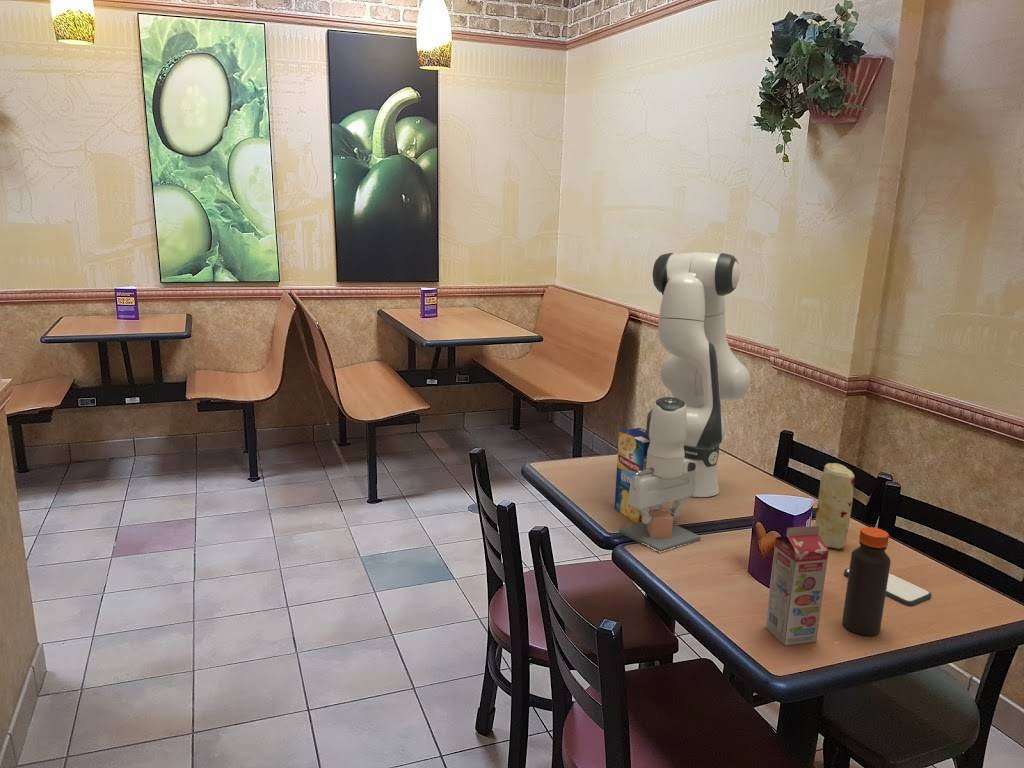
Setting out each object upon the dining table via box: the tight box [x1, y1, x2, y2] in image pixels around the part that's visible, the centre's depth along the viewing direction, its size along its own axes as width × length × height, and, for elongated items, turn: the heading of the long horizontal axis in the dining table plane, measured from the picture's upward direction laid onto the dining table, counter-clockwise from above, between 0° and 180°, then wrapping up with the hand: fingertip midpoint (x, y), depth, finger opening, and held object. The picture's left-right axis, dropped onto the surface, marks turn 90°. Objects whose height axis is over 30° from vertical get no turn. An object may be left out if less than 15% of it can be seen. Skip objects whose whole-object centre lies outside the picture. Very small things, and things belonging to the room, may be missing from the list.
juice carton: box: [764, 525, 830, 646], centre depth 140 cm, size 7×7×22 cm
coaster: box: [618, 522, 701, 552], centre depth 185 cm, size 14×14×1 cm
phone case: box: [843, 567, 932, 607], centre depth 163 cm, size 9×2×16 cm
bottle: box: [841, 526, 892, 637], centre depth 144 cm, size 7×7×20 cm
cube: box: [647, 510, 674, 538], centre depth 183 cm, size 5×5×5 cm
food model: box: [814, 462, 856, 550], centre depth 181 cm, size 10×7×20 cm
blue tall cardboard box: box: [614, 427, 662, 524], centre depth 195 cm, size 7×11×22 cm, turn 27°
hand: (660, 518), depth 183 cm, fingers open, 8 cm apart
